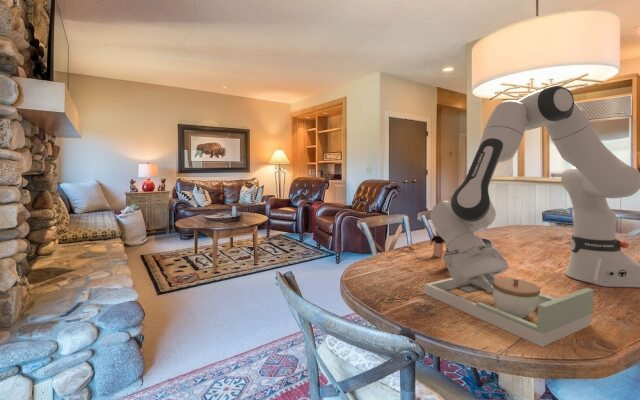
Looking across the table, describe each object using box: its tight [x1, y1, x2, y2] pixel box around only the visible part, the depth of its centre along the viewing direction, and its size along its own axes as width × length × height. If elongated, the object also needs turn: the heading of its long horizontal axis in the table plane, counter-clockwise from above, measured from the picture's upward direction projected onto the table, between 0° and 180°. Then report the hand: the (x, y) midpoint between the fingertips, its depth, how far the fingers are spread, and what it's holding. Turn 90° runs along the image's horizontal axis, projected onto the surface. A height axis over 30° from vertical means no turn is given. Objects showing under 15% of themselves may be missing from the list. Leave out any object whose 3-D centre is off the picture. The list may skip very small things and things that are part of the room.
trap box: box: [423, 277, 593, 348], centre depth 91 cm, size 34×20×3 cm, turn 28°
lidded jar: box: [492, 277, 541, 319], centre depth 87 cm, size 11×11×9 cm
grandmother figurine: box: [429, 229, 446, 259], centre depth 141 cm, size 8×4×13 cm, turn 68°
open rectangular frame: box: [476, 287, 595, 334], centre depth 83 cm, size 16×21×6 cm
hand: (494, 290), depth 92 cm, fingers closed, pressing on lidded jar
